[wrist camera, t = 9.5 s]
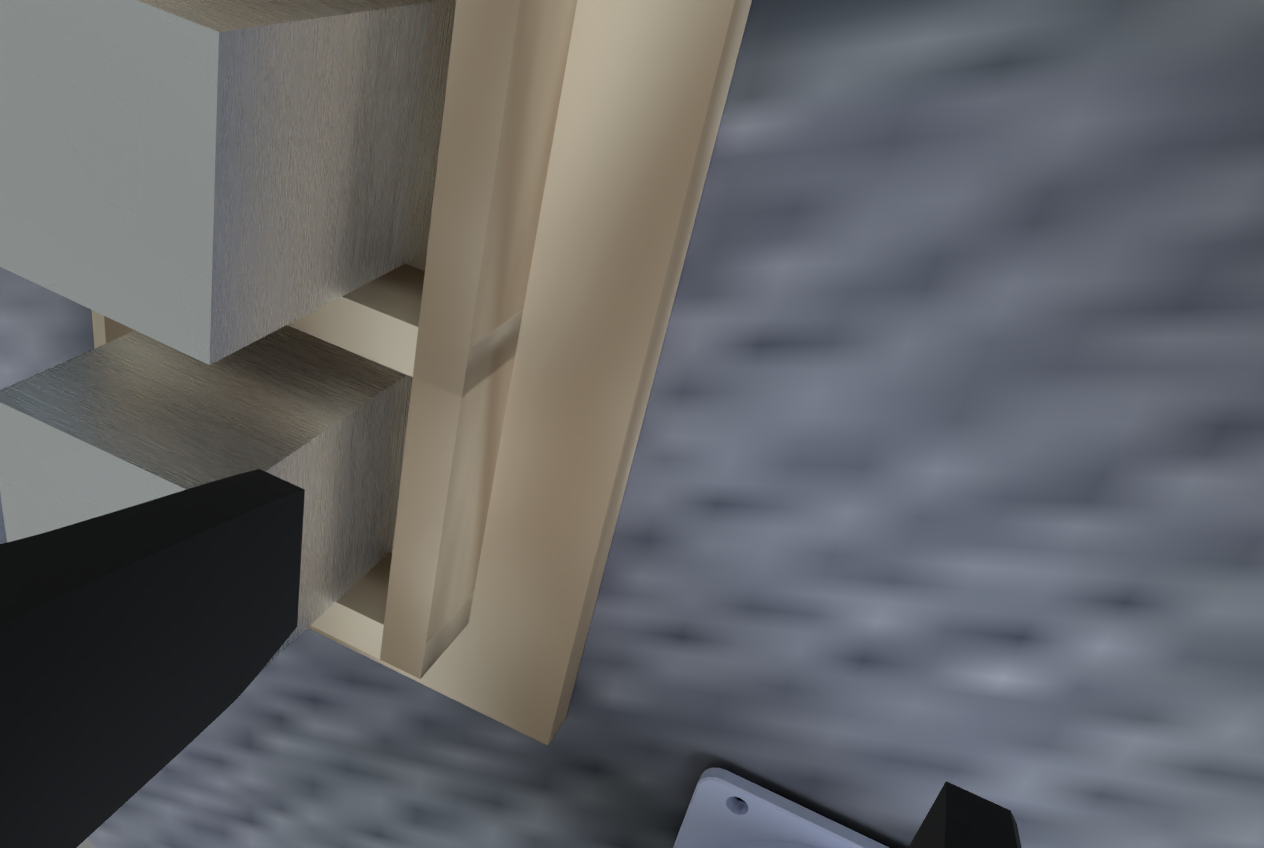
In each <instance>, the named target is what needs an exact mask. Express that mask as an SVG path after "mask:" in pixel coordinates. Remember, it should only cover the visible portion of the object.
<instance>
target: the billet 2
mask: <svg viewBox="0 0 1264 848" xmlns="http://www.w3.org/2000/svg"><path fill="white" fill-rule="evenodd" d="M412 379H413V377H411V376H409V375H406V374H404V373H401V372H399V371H397V370H394V369H392V368H389V367H387V366H385V365H382V364H380V363H377V362H375V361H372V360H370V359H368V358H365V357H363V356H360V355H358V354H356V353H353V352H351V351H348V350H346V349H343V348H341V347H339V346H336V345H334V344H331V343H329V342H327V341H324V340H322V339H319V338H317V337H314V336H312V335H310V334H307V333H305V332H302V331H300V330H298V329H295V328H293V327H290V326H288V325H286V326H284V327H282V328H280V329H278V330H276V331H274V332H272V333H270V334H268V335H266V336H265V337H263V338H261V339H259V340H257V341H255V342H253V343H251V344H249V345H247V346H245V347H243V348H241V349H240V350H238V351H236V352H234V353H232V354H230V355H228V356H226V357H224V358H222V359H220V360H218V361H216V362H214V363H213V364H211V365H208V364H206V363H204V362H202V361H200V360H197V359H195V358H193V357H191V356H189V355H187V354H185V353H183V352H180V351H178V350H176V349H174V348H172V347H170V346H168V345H166V344H163V343H161V342H159V341H157V340H155V339H153V338H151V337H148V336H146V335H144V334H142V333H140V332H138V331H136V330H135V331H133V332H131V333H129V334H126V335H124V336H122V337H120V338H117V339H115V340H113V341H111V342H108V343H106V344H104V345H101V346H99V347H97V348H95V349H92V350H90V351H88V352H86V353H83V354H81V355H79V356H77V357H74V358H72V359H70V360H68V361H65V362H63V363H61V364H58V365H56V366H54V367H52V368H49V369H47V370H45V371H43V372H40V373H38V374H36V375H34V376H31V377H29V378H27V379H25V380H22V381H20V382H18V383H15V384H13V385H11V386H9V387H6V388H4V389H2V390H0V494H1V501H2V509H3V516H4V523H5V531H6V538H7V543H8V542H11V541H15V540H19V539H23V538H26V537H30V536H34V535H38V534H42V533H45V532H48V531H52V530H55V529H59V528H62V527H65V526H69V525H72V524H75V523H79V522H82V521H85V520H88V519H92V518H95V517H98V516H102V515H105V514H108V513H112V512H115V511H118V510H122V509H125V508H128V507H132V506H135V505H138V504H141V503H145V502H148V501H151V500H154V499H157V498H161V497H164V496H167V495H170V494H174V493H177V492H180V491H183V490H186V489H190V488H193V487H196V486H200V485H203V484H206V483H210V482H213V481H216V480H220V479H223V478H227V477H230V476H234V475H237V474H241V473H245V472H249V471H253V470H257V469H261V470H263V471H265V472H267V473H270V474H272V475H274V476H276V477H278V478H281V479H283V480H285V481H287V482H289V483H291V484H294V485H296V486H298V487H300V488H302V489H305V496H304V514H303V532H302V550H301V567H300V585H299V603H298V621H297V628H296V629H295V630H294V631H293V633H292V634H291V635H290V636H289V637H288V639H287V640H286V641H285V642H284V644H283V645H282V646H281V647H280V649H279V650H278V651H277V652H276V653H275V655H274V656H273V657H272V658H271V660H270V661H269V662H268V663H267V665H268V664H269V663H270V662H271V661H272V660H273V659H274V658H275V657H276V656H277V655H279V654H280V653H281V652H282V651H283V650H284V649H285V648H286V647H287V646H288V645H289V644H290V643H292V642H293V641H294V640H295V639H296V638H297V637H298V636H299V635H300V634H301V633H302V632H304V631H305V630H306V629H307V628H308V627H309V626H310V625H311V624H312V623H313V622H314V621H315V620H317V619H318V618H319V617H320V616H321V615H322V614H323V613H324V612H325V611H326V610H327V609H328V608H330V607H331V606H332V605H333V604H334V603H335V602H336V601H337V600H338V599H339V598H340V597H341V596H343V595H344V594H345V593H346V592H347V591H348V590H349V589H350V588H351V587H352V586H353V585H355V584H356V583H357V582H358V581H359V580H360V579H361V578H362V577H363V576H364V575H365V574H366V573H368V572H369V571H370V570H371V569H372V568H373V567H374V566H375V565H376V564H377V563H378V562H379V561H381V560H382V559H383V558H384V557H385V556H386V555H387V554H388V553H389V552H390V551H391V550H393V542H394V533H395V525H396V516H397V508H398V499H399V490H400V482H401V473H402V465H403V456H404V447H405V439H406V430H407V422H408V413H409V404H410V396H411V387H412ZM267 665H266V666H267ZM266 666H265V667H266Z"/></svg>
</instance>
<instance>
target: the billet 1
mask: <svg viewBox="0 0 1264 848" xmlns="http://www.w3.org/2000/svg"><path fill="white" fill-rule="evenodd" d="M455 9H456V0H0V267H2V268H4V269H6V270H8V271H10V272H12V273H14V274H16V275H19V276H21V277H23V278H25V279H27V280H29V281H31V282H33V283H36V284H38V285H40V286H42V287H44V288H46V289H48V290H51V291H53V292H55V293H57V294H59V295H61V296H63V297H65V298H68V299H70V300H72V301H74V302H76V303H78V304H80V305H82V306H85V307H87V308H89V309H91V310H93V311H95V312H97V313H99V314H102V315H104V316H106V317H108V318H110V319H112V320H114V321H117V322H119V323H121V324H123V325H125V326H127V327H129V328H131V329H134V330H136V331H138V332H140V333H142V334H144V335H146V336H148V337H151V338H153V339H155V340H157V341H159V342H161V343H163V344H166V345H168V346H170V347H172V348H174V349H176V350H178V351H180V352H183V353H185V354H187V355H189V356H191V357H193V358H195V359H197V360H200V361H202V362H204V363H206V364H208V365H211V364H213V363H214V362H216V361H218V360H220V359H222V358H224V357H226V356H228V355H230V354H232V353H234V352H236V351H238V350H240V349H241V348H243V347H245V346H247V345H249V344H251V343H253V342H255V341H257V340H259V339H261V338H263V337H265V336H266V335H268V334H270V333H272V332H274V331H276V330H278V329H280V328H282V327H284V326H286V325H288V324H290V323H292V322H293V321H295V320H297V319H299V318H301V317H303V316H305V315H307V314H309V313H311V312H313V311H315V310H317V309H319V308H320V307H322V306H324V305H326V304H328V303H330V302H332V301H334V300H336V299H338V298H340V297H342V296H344V295H346V294H347V293H349V292H351V291H353V290H355V289H357V288H359V287H361V286H363V285H365V284H367V283H369V282H371V281H373V280H374V279H376V278H378V277H380V276H382V275H384V274H386V273H388V272H390V271H392V270H394V269H396V268H398V267H400V266H401V265H403V264H405V263H407V262H409V261H411V260H413V259H415V258H417V257H419V256H421V255H423V254H425V253H426V252H427V249H428V241H429V232H430V224H431V215H432V206H433V198H434V189H435V181H436V172H437V163H438V155H439V146H440V138H441V129H442V120H443V112H444V103H445V95H446V86H447V77H448V69H449V60H450V52H451V43H452V34H453V26H454V17H455Z"/></svg>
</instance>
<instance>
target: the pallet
mask: <svg viewBox="0 0 1264 848" xmlns="http://www.w3.org/2000/svg"><path fill="white" fill-rule="evenodd" d="M751 2H752V0H456V9H455V17H454V26H453V34H452V43H451V52H450V60H449V69H448V77H447V86H446V95H445V103H444V112H443V120H442V129H441V138H440V146H439V155H438V163H437V172H436V181H435V189H434V198H433V206H432V215H431V224H430V232H429V241H428V249H427V252H426V253H425V254H423V255H421V256H419V257H417V258H415V259H413V260H411V261H409V262H407V263H405V264H403V265H401V266H400V267H398V268H396V269H394V270H392V271H390V272H388V273H386V274H384V275H382V276H380V277H378V278H376V279H374V280H373V281H371V282H369V283H367V284H365V285H363V286H361V287H359V288H357V289H355V290H353V291H351V292H349V293H347V294H346V295H344V296H342V297H340V298H338V299H336V300H334V301H332V302H330V303H328V304H326V305H324V306H322V307H320V308H319V309H317V310H315V311H313V312H311V313H309V314H307V315H305V316H303V317H301V318H299V319H297V320H295V321H293V322H292V323H290V324H288V326H290V327H293V328H295V329H298V330H300V331H302V332H305V333H307V334H310V335H312V336H314V337H317V338H319V339H322V340H324V341H327V342H329V343H331V344H334V345H336V346H339V347H341V348H343V349H346V350H348V351H351V352H353V353H356V354H358V355H360V356H363V357H365V358H368V359H370V360H372V361H375V362H377V363H380V364H382V365H385V366H387V367H389V368H392V369H394V370H397V371H399V372H401V373H404V374H406V375H409V376H411V377H413V379H412V387H411V396H410V404H409V413H408V422H407V430H406V439H405V447H404V456H403V465H402V473H401V482H400V490H399V499H398V508H397V516H396V525H395V533H394V542H393V550H391V551H390V552H389V553H388V554H387V555H386V556H385V557H384V558H383V559H382V560H381V561H379V562H378V563H377V564H376V565H375V566H374V567H373V568H372V569H371V570H370V571H369V572H368V573H366V574H365V575H364V576H363V577H362V578H361V579H360V580H359V581H358V582H357V583H356V584H355V585H353V586H352V587H351V588H350V589H349V590H348V591H347V592H346V593H345V594H344V595H343V596H341V597H340V598H339V599H338V600H337V601H336V602H335V603H334V604H333V605H332V606H331V607H330V608H328V609H327V610H326V611H325V612H324V613H323V614H322V615H321V616H320V617H319V618H318V619H317V620H315V621H314V622H313V623H312V624H311V625H310V626H309V627H308V628H309V629H311V630H313V631H315V632H317V633H319V634H321V635H323V636H325V637H327V638H329V639H331V640H333V641H335V642H337V643H340V644H342V645H344V646H346V647H348V648H350V649H352V650H354V651H356V652H358V653H360V654H362V655H364V656H366V657H368V658H370V659H372V660H374V661H376V662H378V663H380V664H382V665H384V666H386V667H388V668H390V669H393V670H395V671H397V672H399V673H401V674H403V675H405V676H407V677H409V678H411V679H413V680H415V681H417V682H419V683H421V684H423V685H425V686H427V687H429V688H431V689H433V690H435V691H437V692H439V693H441V694H443V695H446V696H448V697H450V698H452V699H454V700H456V701H458V702H460V703H462V704H464V705H466V706H468V707H470V708H472V709H474V710H476V711H478V712H480V713H482V714H484V715H486V716H488V717H490V718H492V719H494V720H496V721H499V722H501V723H503V724H505V725H507V726H509V727H511V728H513V729H515V730H517V731H519V732H521V733H523V734H525V735H527V736H529V737H531V738H533V739H535V740H537V741H539V742H541V743H543V744H545V745H547V746H548V745H549V743H550V742H551V740H552V738H553V737H554V735H555V734H556V732H557V731H558V729H559V728H560V726H561V724H562V723H563V721H564V720H565V718H566V716H567V712H568V708H569V704H570V700H571V696H572V692H573V689H574V685H575V681H576V677H577V673H578V669H579V665H580V662H581V658H582V654H583V650H584V646H585V642H586V638H587V635H588V631H589V627H590V623H591V619H592V615H593V611H594V608H595V604H596V600H597V596H598V592H599V588H600V584H601V581H602V577H603V573H604V569H605V565H606V561H607V557H608V554H609V550H610V546H611V542H612V538H613V534H614V530H615V527H616V523H617V519H618V515H619V511H620V507H621V503H622V500H623V496H624V492H625V488H626V484H627V480H628V476H629V473H630V469H631V465H632V461H633V457H634V453H635V449H636V446H637V442H638V438H639V434H640V430H641V426H642V422H643V419H644V415H645V411H646V407H647V403H648V399H649V396H650V392H651V388H652V384H653V380H654V376H655V372H656V369H657V365H658V361H659V357H660V353H661V349H662V345H663V342H664V338H665V334H666V330H667V326H668V322H669V318H670V315H671V311H672V307H673V303H674V299H675V295H676V291H677V288H678V284H679V280H680V276H681V272H682V268H683V264H684V261H685V257H686V253H687V249H688V245H689V241H690V237H691V234H692V230H693V226H694V222H695V218H696V214H697V210H698V207H699V203H700V199H701V195H702V191H703V187H704V183H705V180H706V176H707V172H708V168H709V164H710V160H711V156H712V153H713V149H714V145H715V141H716V137H717V133H718V129H719V126H720V122H721V118H722V114H723V110H724V106H725V102H726V99H727V95H728V91H729V87H730V83H731V79H732V75H733V72H734V68H735V64H736V60H737V56H738V52H739V48H740V45H741V41H742V37H743V33H744V29H745V25H746V21H747V18H748V14H749V10H750V6H751ZM92 321H93V335H94V349H95V348H97V347H99V346H101V345H104V344H106V343H108V342H111V341H113V340H115V339H117V338H120V337H122V336H124V335H126V334H129V333H131V332H133V331H135V330H134V329H131V328H129V327H127V326H125V325H123V324H121V323H119V322H117V321H114V320H112V319H110V318H108V317H106V316H104V315H102V314H99V313H97V312H95V311H93V310H92Z"/></svg>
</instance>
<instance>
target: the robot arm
mask: <svg viewBox="0 0 1264 848" xmlns="http://www.w3.org/2000/svg"><path fill="white" fill-rule="evenodd" d="M304 496H305V489H302V488H300V487H298V486H296V485H294V484H291V483H289V482H287V481H285V480H283V479H281V478H278V477H276V476H274V475H272V474H270V473H267V472H265V471H263V470H261V469H257V470H253V471H249V472H245V473H241V474H237V475H234V476H230V477H227V478H223V479H220V480H216V481H213V482H210V483H206V484H203V485H200V486H196V487H193V488H190V489H186V490H183V491H180V492H177V493H174V494H170V495H167V496H164V497H161V498H157V499H154V500H151V501H148V502H145V503H141V504H138V505H135V506H132V507H128V508H125V509H122V510H118V511H115V512H112V513H108V514H105V515H102V516H98V517H95V518H92V519H88V520H85V521H82V522H79V523H75V524H72V525H69V526H65V527H62V528H59V529H55V530H52V531H48V532H45V533H42V534H38V535H34V536H30V537H26V538H23V539H19V540H15V541H11V542H8V543H4V544H0V848H76V847H78V846H79V845H80V844H81V843H82V842H83V841H84V840H85V839H86V838H87V837H88V836H89V835H91V834H92V833H93V832H94V831H95V830H96V829H97V828H98V827H99V826H100V825H101V824H103V823H104V822H105V821H106V820H107V819H108V818H109V817H110V816H111V815H112V814H113V813H114V812H116V811H117V810H118V809H119V808H120V807H121V806H122V805H123V804H124V803H125V802H126V801H128V800H129V799H130V798H131V797H132V796H133V795H134V794H135V793H136V792H137V791H138V790H140V789H141V788H142V787H143V786H144V785H145V784H146V783H147V782H148V781H149V780H150V779H151V778H153V777H154V776H155V775H156V774H157V773H158V772H159V771H160V770H161V769H162V768H163V767H165V766H166V765H167V764H168V763H169V762H170V761H171V760H172V759H173V758H174V757H175V756H177V755H178V754H179V753H180V752H181V751H182V750H183V749H184V748H185V747H186V746H187V745H188V744H189V743H191V742H192V741H193V740H194V739H195V738H196V737H197V736H198V735H199V734H200V733H201V732H202V731H203V730H204V729H205V728H207V727H208V726H209V725H210V724H211V723H212V722H213V721H214V720H215V719H216V718H217V717H218V716H219V715H220V714H221V713H222V712H224V711H225V710H226V709H227V708H228V707H229V706H230V705H231V704H232V703H233V702H234V701H235V700H236V699H237V698H238V697H239V696H240V695H241V693H242V692H243V691H244V690H245V689H246V688H247V687H248V685H249V684H250V683H251V682H252V681H253V680H254V678H255V677H256V676H257V675H258V674H259V673H260V672H261V670H262V669H263V668H264V667H265V666H266V665H267V663H268V662H269V661H270V660H271V658H272V657H273V656H274V655H275V653H276V652H277V651H278V650H279V649H280V647H281V646H282V645H283V644H284V642H285V641H286V640H287V639H288V637H289V636H290V635H291V634H292V633H293V631H294V630H295V629H296V628H297V621H298V603H299V585H300V567H301V550H302V532H303V514H304ZM735 797H738V798H741V799H742V800H744V801H745V802H742V801H739V800H737V799H736V798H735ZM673 848H889V847H887V846H885V845H883V844H881V843H879V842H876V841H874V840H872V839H870V838H868V837H866V836H864V835H862V834H860V833H858V832H855V831H853V830H851V829H849V828H847V827H845V826H843V825H841V824H839V823H836V822H834V821H832V820H830V819H828V818H826V817H824V816H822V815H820V814H818V813H815V812H813V811H811V810H809V809H807V808H805V807H803V806H801V805H799V804H797V803H794V802H792V801H790V800H788V799H786V798H784V797H782V796H780V795H778V794H776V793H773V792H771V791H769V790H767V789H765V788H763V787H761V786H759V785H757V784H755V783H752V782H750V781H748V780H746V779H744V778H742V777H740V776H738V775H736V774H734V773H731V772H729V771H727V770H724V769H721V768H709V769H707V770H705V771H704V772H703V773H702V775H701V776H700V779H699V781H698V783H697V785H696V788H695V791H694V793H693V796H692V799H691V801H690V804H689V807H688V809H687V812H686V815H685V817H684V820H683V823H682V825H681V828H680V831H679V833H678V836H677V839H676V841H675V844H674V847H673ZM909 848H1021V843H1020V838H1019V833H1018V828H1017V824H1016V822H1015V819H1014V817H1013V815H1012V813H1011V811H1010V810H1008V809H1006V808H1003V807H1001V806H999V805H997V804H995V803H992V802H990V801H988V800H986V799H984V798H981V797H979V796H977V795H975V794H973V793H971V792H968V791H966V790H964V789H962V788H960V787H957V786H955V785H953V784H951V783H949V782H945V784H944V786H943V788H942V789H941V791H940V793H939V795H938V797H937V798H936V800H935V802H934V804H933V805H932V807H931V809H930V811H929V812H928V814H927V816H926V818H925V819H924V821H923V823H922V825H921V826H920V828H919V830H918V832H917V833H916V835H915V837H914V839H913V840H912V842H911V844H910V846H909Z"/></svg>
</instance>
